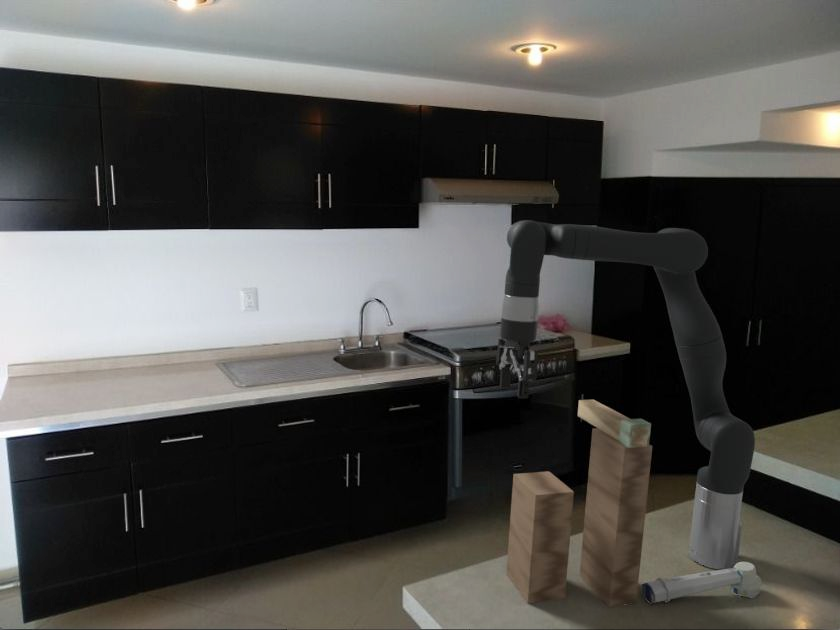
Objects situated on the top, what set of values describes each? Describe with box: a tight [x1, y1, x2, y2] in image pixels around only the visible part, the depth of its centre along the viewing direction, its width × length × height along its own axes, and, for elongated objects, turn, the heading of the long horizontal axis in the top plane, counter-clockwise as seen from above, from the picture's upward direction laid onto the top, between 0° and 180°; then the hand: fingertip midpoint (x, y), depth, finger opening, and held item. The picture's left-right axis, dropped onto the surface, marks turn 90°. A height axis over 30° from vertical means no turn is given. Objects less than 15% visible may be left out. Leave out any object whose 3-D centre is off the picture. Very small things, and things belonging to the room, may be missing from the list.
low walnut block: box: [505, 470, 575, 604], centre depth 124 cm, size 8×10×22 cm
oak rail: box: [577, 399, 652, 448], centre depth 125 cm, size 4×19×4 cm, turn 16°
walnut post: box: [578, 427, 653, 608], centre depth 124 cm, size 6×11×32 cm, turn 16°
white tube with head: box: [641, 561, 762, 604], centre depth 125 cm, size 5×7×25 cm
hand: (513, 392), depth 133 cm, fingers open, 8 cm apart
